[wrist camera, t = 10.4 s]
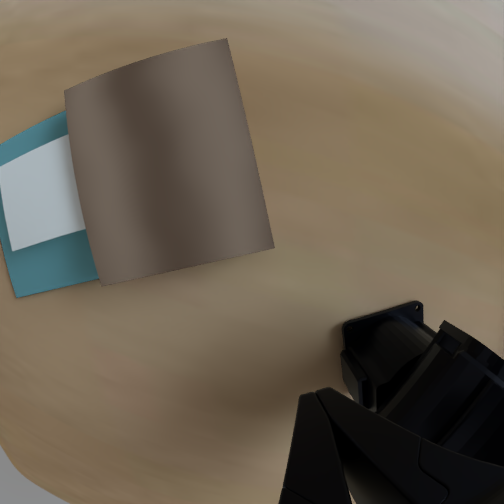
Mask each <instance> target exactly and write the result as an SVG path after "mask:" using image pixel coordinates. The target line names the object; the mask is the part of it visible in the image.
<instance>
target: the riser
mask: <svg viewBox="0 0 504 504" xmlns="http://www.w3.org/2000/svg"><path fill="white" fill-rule="evenodd" d="M64 95H65V107H66V118H67V127H68V135H69V143H70V150H71V156H72V163H73V169H74V175H75V180H76V186H77V191H78V196H79V201H80V206H81V210H82V215H83V219H84V224H85V228H86V232H87V236H88V240H89V244H90V248H91V252H92V255H93V259H94V263H95V266H96V270H97V273H98V277H99V280H100V283H101V286H106V285H110V284H115V283H119V282H124V281H128V280H133V279H137V278H142V277H146V276H151V275H156V274H160V273H165V272H169V271H174V270H178V269H183V268H187V267H192V266H196V265H201V264H205V263H210V262H214V261H219V260H223V259H228V258H232V257H237V256H241V255H246V254H250V253H255V252H259V251H264V250H268V249H273V248H275V247H274V242H273V238H272V233H271V228H270V223H269V219H268V214H267V209H266V205H265V200H264V195H263V191H262V186H261V182H260V177H259V173H258V168H257V164H256V159H255V155H254V150H253V146H252V141H251V137H250V133H249V128H248V124H247V120H246V115H245V111H244V107H243V103H242V98H241V94H240V90H239V86H238V81H237V77H236V73H235V69H234V65H233V61H232V57H231V53H230V49H229V45H228V40H227V38H226V39H221V40H216V41H212V42H207V43H202V44H198V45H194V46H190V47H186V48H182V49H178V50H174V51H171V52H167V53H164V54H160V55H157V56H153V57H150V58H147V59H144V60H141V61H138V62H135V63H132V64H129V65H126V66H123V67H120V68H118V69H115V70H112V71H110V72H107V73H104V74H102V75H99V76H97V77H94V78H92V79H90V80H87V81H85V82H82V83H80V84H78V85H76V86H73V87H71V88H69V89H67V90H65V91H64Z"/></svg>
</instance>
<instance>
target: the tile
mask: <svg viewBox="0 0 504 504" xmlns="http://www.w3.org/2000/svg"><path fill="white" fill-rule="evenodd" d="M0 188H1V195H2V202H3V208H4V214H5V219H6V224H7V229H8V234H9V239H10V243H11V247H12V251H16V250H19V249H22V248H26V247H29V246H32V245H35V244H38V243H41V242H44V241H48V240H51V239H54V238H57V237H60V236H64V235H67V234H70V233H74V232H77V231H80V230H84V229H86V228H85V224H84V219H83V215H82V210H81V206H80V201H79V196H78V191H77V186H76V180H75V175H74V169H73V163H72V156H71V150H70V143H69V135H65V136H63V137H60V138H58V139H56V140H54V141H51V142H49V143H47V144H45V145H43V146H40V147H38V148H36V149H34V150H32V151H30V152H28V153H26V154H24V155H22V156H20V157H18V158H16V159H14V160H12V161H10V162H8V163H6V164H4V165H2V166H1V167H0Z"/></svg>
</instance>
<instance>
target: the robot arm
mask: <svg viewBox="0 0 504 504" xmlns="http://www.w3.org/2000/svg"><path fill="white" fill-rule="evenodd" d="M417 305H418V308H417V309H416V310H415V307H416V306H417ZM349 326H352V328H351V330H348V331H347V328H348V327H349ZM439 328H440V330H439V331H438V333H436V332H435V331H433V330H432V329H431V328H429V327H428V326H427V325H425V324H424V323H423V304H422V303H421V302H419V301H412V302H409V303H406V304H403V305H400V306H397V307H394V308H390V309H387V310H384V311H381V312H377V313H374V314H370V315H367V316H364V317H360V318H357V319H353V320H349V321H347V322H345V323H344V324H343V326H342V334H343V343H344V350H342V352H341V354H340V356H341V365H342V374H343V381H344V383H345V384H346V386H347V388H348V391H349V393H350V395H351V396H352V397H353V399H354V401H353V400H352V399H350V398H348V397H346V396H345V395H343V394H341V393H339V392H338V391H336V390H334V389H333V388H331V387H326V388H323V389H320V390H317V391H316V392H309V393H306V394H302V395H300V397H299V402H298V408H297V414H296V420H295V426H294V431H293V437H292V442H291V447H290V453H289V458H288V463H287V468H286V473H285V478H284V482H283V488H282V491H281V495H280V500H279V503H278V504H352V501H351V497H350V494H349V491H350V493H351V495H352V497H353V498H354V500H355V502H356V504H504V360H503V359H502V358H501V357H499V356H498V355H497V354H495V353H494V352H493V351H491V350H490V349H489V348H487V347H486V346H485V345H483V344H482V343H481V342H479V341H478V340H476V339H475V338H473V337H472V336H470V335H468V334H467V333H465V332H463V331H462V330H460V329H458V328H457V327H455V326H453V325H452V324H450V323H448V322H447V321H445V320H444V321H443V322H442V324H441V325H440V327H439ZM348 489H349V490H348Z"/></svg>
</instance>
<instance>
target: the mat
mask: <svg viewBox="0 0 504 504" xmlns="http://www.w3.org/2000/svg"><path fill="white" fill-rule="evenodd" d="M65 135H68V127H67V118H66V111H64V112H61V113H59V114H57V115H55V116H53V117H51V118H49V119H47V120H45V121H43V122H41V123H39V124H37V125H35V126H33V127H31V128H29V129H27V130H25V131H23V132H21V133H20V134H18V135H16V136H14V137H12V138H11V139H9V140H7V141H5V142H4V143H2V144H0V167H1V166H2V165H4V164H6V163H8V162H10V161H12V160H14V159H16V158H18V157H20V156H22V155H24V154H26V153H28V152H30V151H32V150H34V149H36V148H38V147H40V146H43V145H45V144H47V143H49V142H51V141H54V140H56V139H58V138H60V137H63V136H65ZM0 239H1V244H2V248H3V252H4V256H5V260H6V264H7V268H8V271H9V275H10V278H11V282H12V285H13V288H14V291H15V294H16V298H18V297H23V296H27V295H31V294H35V293H40V292H44V291H48V290H52V289H57V288H61V287H65V286H69V285H74V284H78V283H82V282H86V281H91V280H95V279H99V277H98V273H97V270H96V266H95V263H94V259H93V255H92V252H91V248H90V244H89V240H88V236H87V232H86V229H84V230H80V231H77V232H74V233H70V234H67V235H64V236H60V237H57V238H54V239H51V240H48V241H44V242H41V243H38V244H35V245H32V246H29V247H26V248H22V249H19V250H16V251H12V247H11V243H10V239H9V234H8V229H7V224H6V219H5V214H4V208H3V202H2V195H1V188H0Z"/></svg>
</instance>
